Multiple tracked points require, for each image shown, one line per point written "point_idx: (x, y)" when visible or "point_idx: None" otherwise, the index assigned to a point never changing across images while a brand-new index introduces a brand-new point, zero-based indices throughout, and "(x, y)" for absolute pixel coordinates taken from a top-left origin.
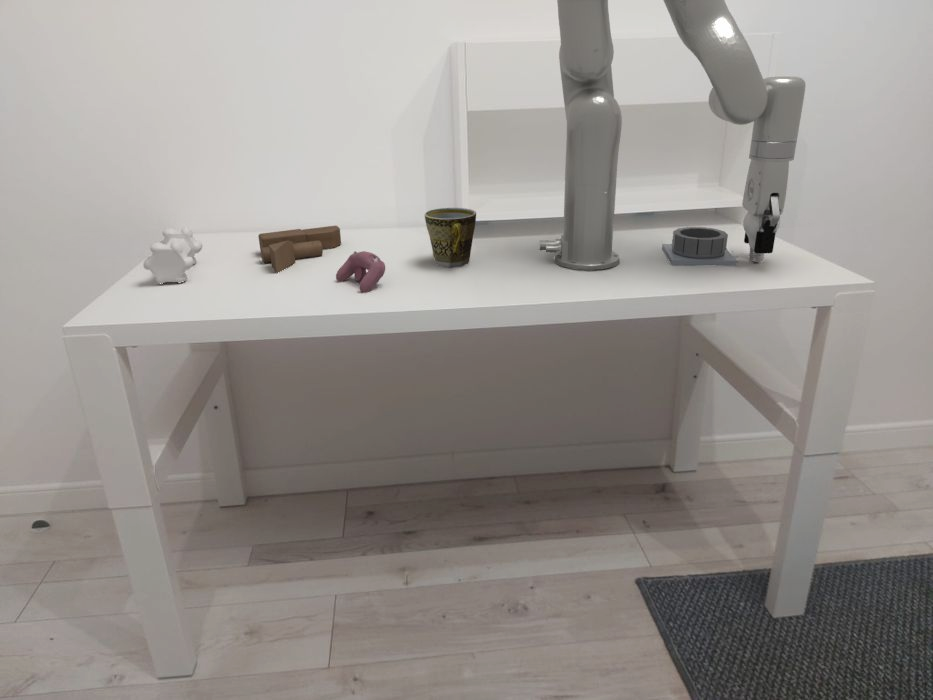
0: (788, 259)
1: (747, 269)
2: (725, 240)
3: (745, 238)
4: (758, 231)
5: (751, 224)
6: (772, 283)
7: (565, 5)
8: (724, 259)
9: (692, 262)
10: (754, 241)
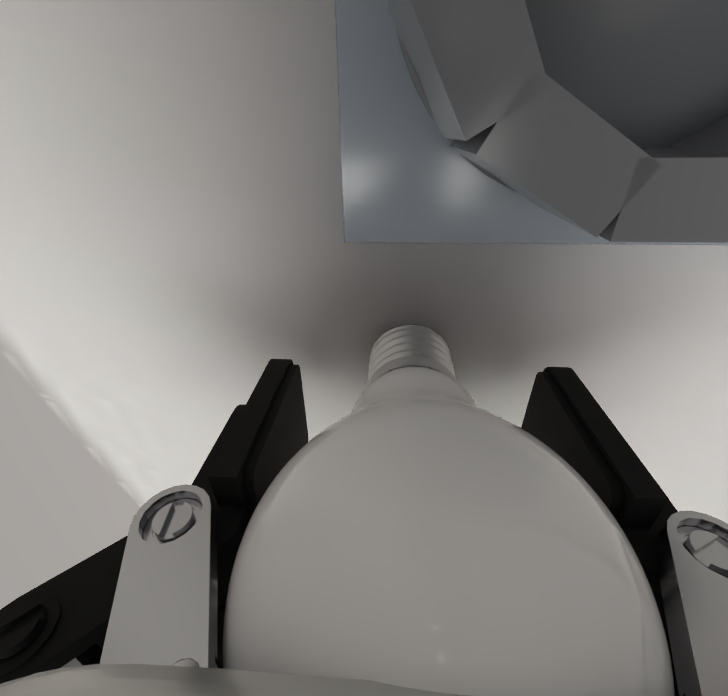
0: None
1: (283, 279)
2: (525, 192)
3: (560, 386)
4: (237, 488)
5: (282, 504)
6: (70, 330)
7: None
8: (373, 153)
9: None
10: (358, 408)
